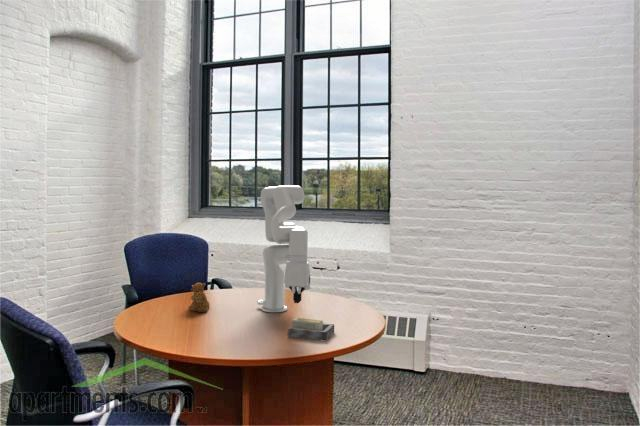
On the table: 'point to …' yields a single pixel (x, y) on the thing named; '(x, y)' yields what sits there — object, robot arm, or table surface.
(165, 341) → the table surface
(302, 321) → the skincare box
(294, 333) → the u rest
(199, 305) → the brown teddy bear
